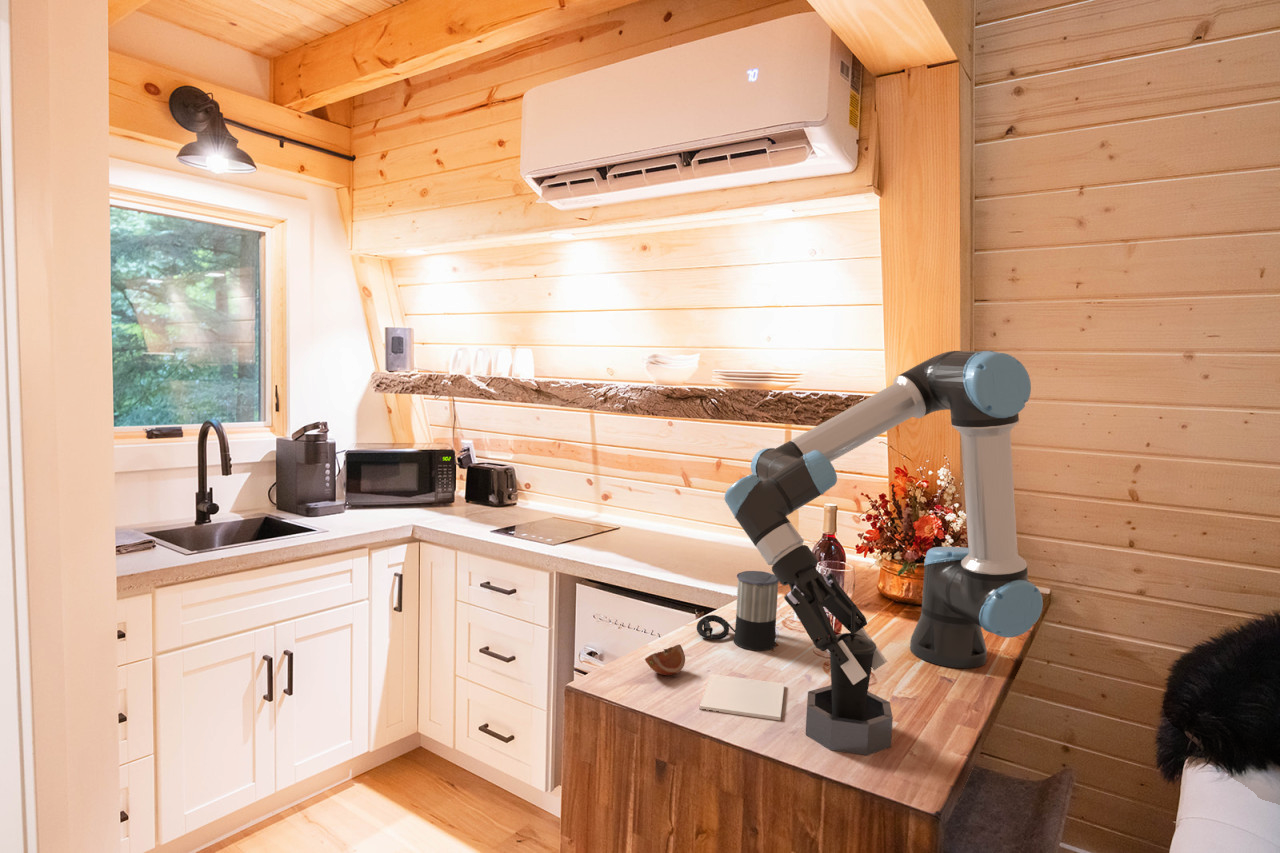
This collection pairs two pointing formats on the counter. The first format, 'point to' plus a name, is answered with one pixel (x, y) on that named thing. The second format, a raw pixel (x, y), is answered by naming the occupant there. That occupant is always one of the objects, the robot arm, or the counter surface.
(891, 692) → the counter surface
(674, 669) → the fruit slice
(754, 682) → the coaster
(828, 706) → the grey octagonal ring
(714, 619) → the milk frother
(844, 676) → the drinking cup
